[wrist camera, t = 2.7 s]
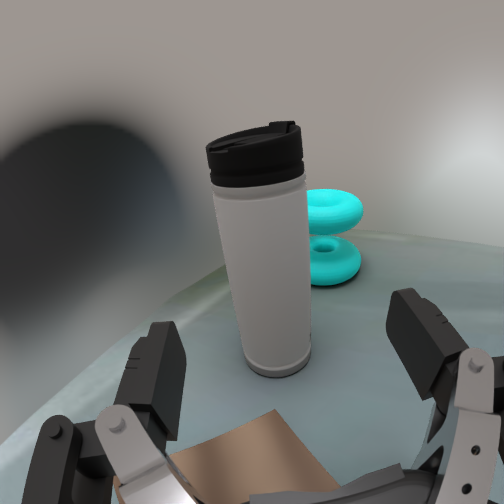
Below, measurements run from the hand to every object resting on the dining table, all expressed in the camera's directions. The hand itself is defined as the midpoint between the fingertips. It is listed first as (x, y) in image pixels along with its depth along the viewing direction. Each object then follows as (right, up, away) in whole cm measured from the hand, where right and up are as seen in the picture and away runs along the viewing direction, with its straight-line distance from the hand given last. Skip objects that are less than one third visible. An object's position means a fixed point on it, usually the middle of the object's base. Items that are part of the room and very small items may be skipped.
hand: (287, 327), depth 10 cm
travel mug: (+1, -7, +17) cm, 18 cm away
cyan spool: (+9, 0, +29) cm, 30 cm away
